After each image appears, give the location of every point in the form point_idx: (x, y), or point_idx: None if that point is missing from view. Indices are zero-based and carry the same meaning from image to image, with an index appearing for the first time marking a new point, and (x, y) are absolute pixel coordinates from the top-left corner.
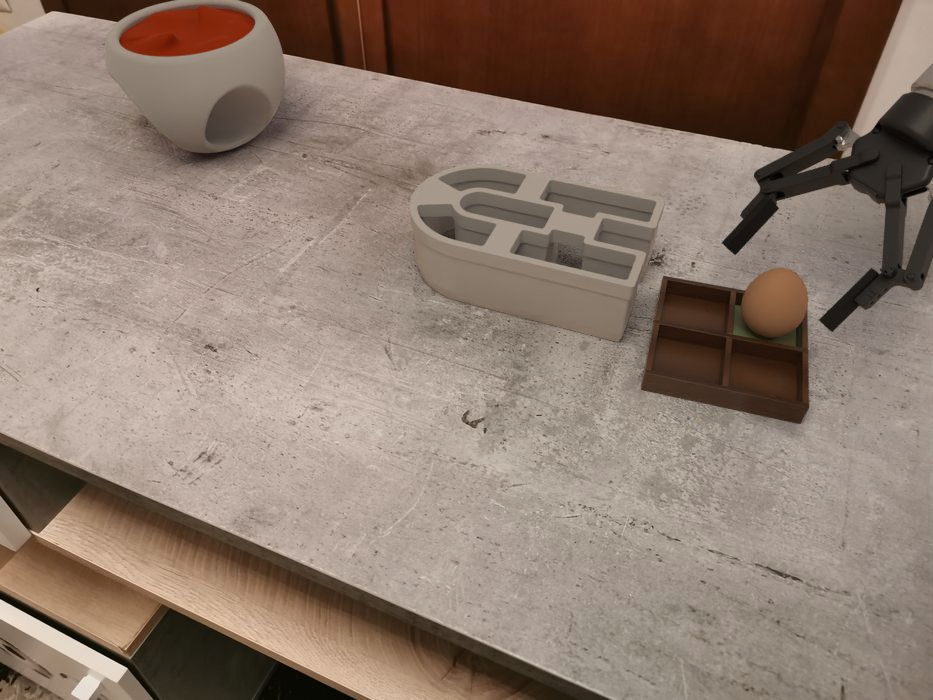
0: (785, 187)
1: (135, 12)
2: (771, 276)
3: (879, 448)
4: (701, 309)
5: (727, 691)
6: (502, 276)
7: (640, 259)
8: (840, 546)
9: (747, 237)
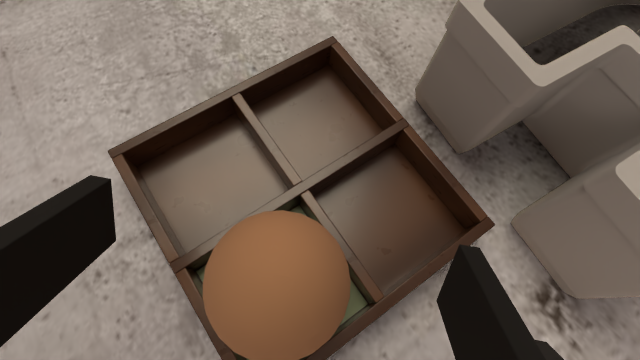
0: None
1: None
2: (299, 246)
3: (4, 218)
4: (393, 246)
5: None
6: None
7: (524, 63)
8: (5, 50)
9: (458, 330)
